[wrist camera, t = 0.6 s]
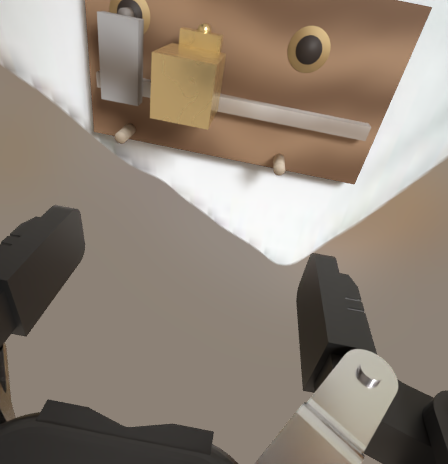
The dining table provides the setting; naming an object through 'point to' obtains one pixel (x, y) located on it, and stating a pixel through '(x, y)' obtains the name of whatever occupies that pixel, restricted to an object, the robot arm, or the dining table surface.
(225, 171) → the dining table surface
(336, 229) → the dining table surface
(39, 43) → the dining table surface
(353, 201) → the dining table surface
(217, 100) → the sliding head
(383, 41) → the wooden slider board
